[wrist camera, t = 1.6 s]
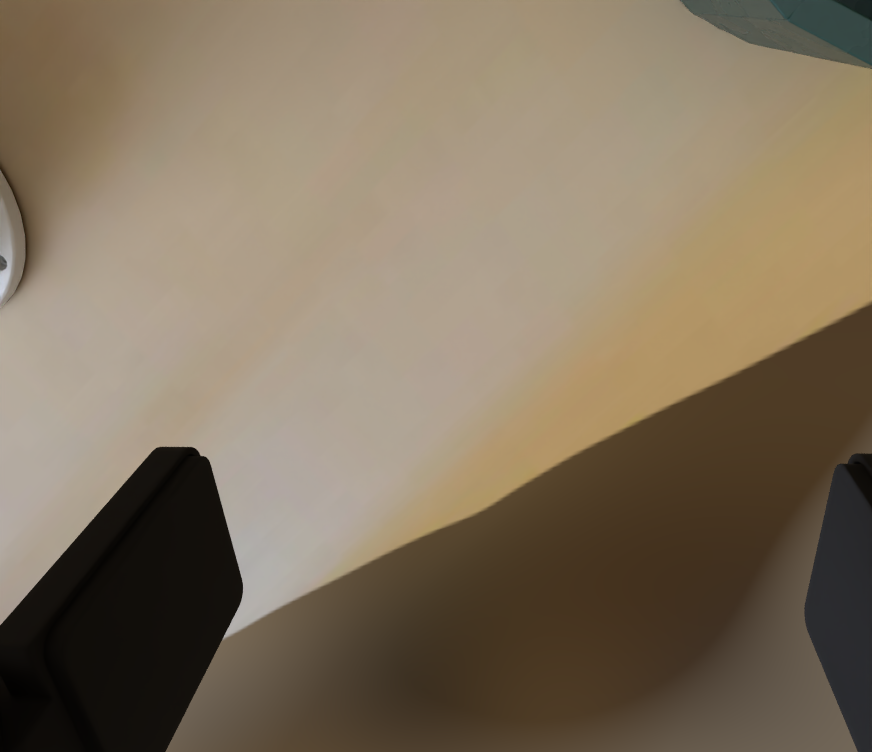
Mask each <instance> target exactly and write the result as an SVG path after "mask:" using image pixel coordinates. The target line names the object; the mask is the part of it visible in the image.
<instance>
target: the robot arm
mask: <svg viewBox="0 0 872 752" xmlns="http://www.w3.org/2000/svg"><path fill="white" fill-rule="evenodd" d="M25 258H26V255H25V233H24V228H23V223H22V218H21V214H20V211H19V208H18V206H17V203H16V200H15V198H14V195H13V192H12V190H11V188H10V186H9V184H8V183H7V181H6V179H5V177H4V175H3V174H2V172H1V170H0V308H1V307H2V306H3V305H4V304H5V303H6V302H7V301H8V300H9V298H10V297H11V296H12V295H13V294H14V292H15V290H16V288H17V286H18V284H19V282H20V280H21V277H22V273H23V268H24V263H25ZM242 594H243V583H242V578H241V574H240V571H239V567H238V563H237V560H236V556H235V552H234V549H233V545H232V541H231V538H230V534H229V530H228V527H227V523H226V519H225V516H224V512H223V508H222V505H221V501H220V497H219V494H218V490H217V486H216V483H215V479H214V475H213V472H212V468H211V465H210V462H209V460H208V459H207V458H206V457H204V456H200V454H199V452H198V451H197V450H196V449H195V448H193V447H158V448H156V449H155V450H153V451H152V452H151V454H150V455H149V456H148V457H147V458H146V459H145V460H144V462H143V463H142V464H141V465H140V466H139V467H138V468H137V470H136V471H135V472H134V473H133V474H132V475H131V476H130V478H129V479H128V480H127V481H126V482H125V483H124V484H123V486H122V487H121V488H120V489H119V490H118V491H117V492H116V494H115V495H114V496H113V497H112V498H111V499H110V501H109V502H108V503H107V504H106V505H105V506H104V507H103V509H102V510H101V511H100V512H99V513H98V514H97V515H96V517H95V518H94V519H93V520H92V521H91V522H90V523H89V525H88V526H87V527H86V528H85V529H84V530H83V531H82V533H81V534H80V535H79V536H78V537H77V538H76V539H75V541H74V542H73V543H72V544H71V545H70V546H69V547H68V549H67V550H66V551H65V552H64V553H63V554H62V555H61V557H60V558H59V559H58V560H57V561H56V562H55V563H54V565H53V566H52V567H51V568H50V569H49V570H48V571H47V573H46V574H45V575H44V576H43V577H42V578H41V580H40V581H39V582H38V583H37V584H36V585H35V586H34V588H33V589H32V590H31V591H30V592H29V593H28V594H27V596H26V597H25V598H24V599H23V600H22V601H21V602H20V604H19V605H18V606H17V607H16V608H15V609H14V610H13V612H12V613H11V614H10V615H9V616H8V617H7V618H6V620H5V621H4V622H3V623H2V624H1V625H0V752H165V751H166V749H167V747H168V745H169V743H170V741H171V740H172V737H173V736H174V733H175V732H176V730H177V728H178V726H179V724H180V722H181V720H182V718H183V716H184V714H185V712H186V710H187V708H188V706H189V704H190V702H191V700H192V698H193V696H194V694H195V692H196V690H197V688H198V686H199V684H200V682H201V680H202V678H203V676H204V674H205V672H206V670H207V668H208V667H209V665H210V663H211V660H212V659H213V657H214V654H215V653H216V651H217V649H218V647H219V645H220V643H221V641H222V639H223V637H224V635H225V633H226V631H227V629H228V627H229V625H230V623H231V621H232V619H233V617H234V615H235V613H236V611H237V609H238V607H239V605H240V603H241V599H242ZM805 622H806V627H807V630H808V633H809V635H810V638H811V640H812V643H813V645H814V647H815V650H816V652H817V655H818V657H819V659H820V662H821V664H822V667H823V669H824V672H825V674H826V676H827V679H828V681H829V683H830V686H831V688H832V691H833V693H834V695H835V698H836V700H837V703H838V705H839V707H840V710H841V712H842V715H843V717H844V719H845V722H846V724H847V727H848V729H849V731H850V734H851V736H852V739H853V741H854V743H855V746H856V748H857V751H858V752H872V454H854V455H852V456H851V458H850V459H849V461H848V464H839V465H837V467H836V468H835V471H834V474H833V478H832V483H831V488H830V492H829V497H828V501H827V506H826V511H825V515H824V520H823V524H822V529H821V533H820V538H819V543H818V547H817V552H816V556H815V561H814V566H813V571H812V575H811V579H810V584H809V588H808V593H807V597H806V602H805Z"/></svg>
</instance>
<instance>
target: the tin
mask: <svg viewBox="0 0 872 752" xmlns="http://www.w3.org/2000/svg"><path fill="white" fill-rule="evenodd" d="M680 1H681V2H682V3H683V4H684V5H685V6H686V7H687V8H688V9H689V11H690V12H692V13H693V14H694V15H696V16H698V17H700V18H702V19H704V20H706V21H708V22H709V23H711V24H713V25H714V26H716V27H717V28H719V29H722V30H724V31H726V32H729V33H731V34H732V35H734V36H736V37H738V38H740V39H742V40H744V41H746V42H748V43H750V44H754V45H759V46H764V47H769V48H774V49H778V50H783V51H788V52H793V53H798V54H802V55H807V56H812V57H817V58H822V59H826V60H831V61H836V62H841V63H846V64H851V65H855V66H860V67H865V68H870V69H872V0H680Z"/></svg>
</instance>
